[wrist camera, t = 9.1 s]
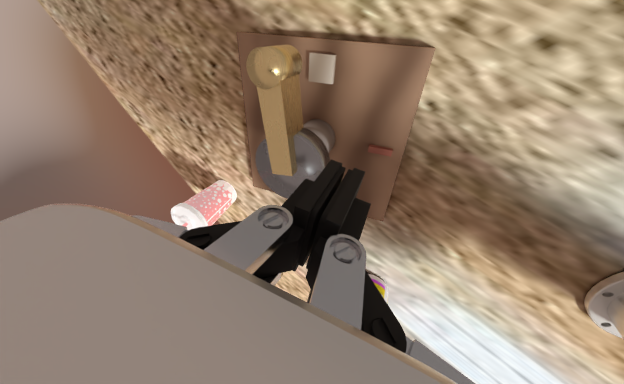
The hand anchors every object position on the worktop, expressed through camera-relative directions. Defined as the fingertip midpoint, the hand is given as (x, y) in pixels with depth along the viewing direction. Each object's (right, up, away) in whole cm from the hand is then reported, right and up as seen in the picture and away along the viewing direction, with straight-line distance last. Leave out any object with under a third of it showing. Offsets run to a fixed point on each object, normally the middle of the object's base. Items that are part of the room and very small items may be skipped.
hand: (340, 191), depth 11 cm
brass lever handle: (-3, +6, +11) cm, 13 cm away
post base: (0, +7, +19) cm, 20 cm away
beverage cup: (-17, 0, +31) cm, 35 cm away
